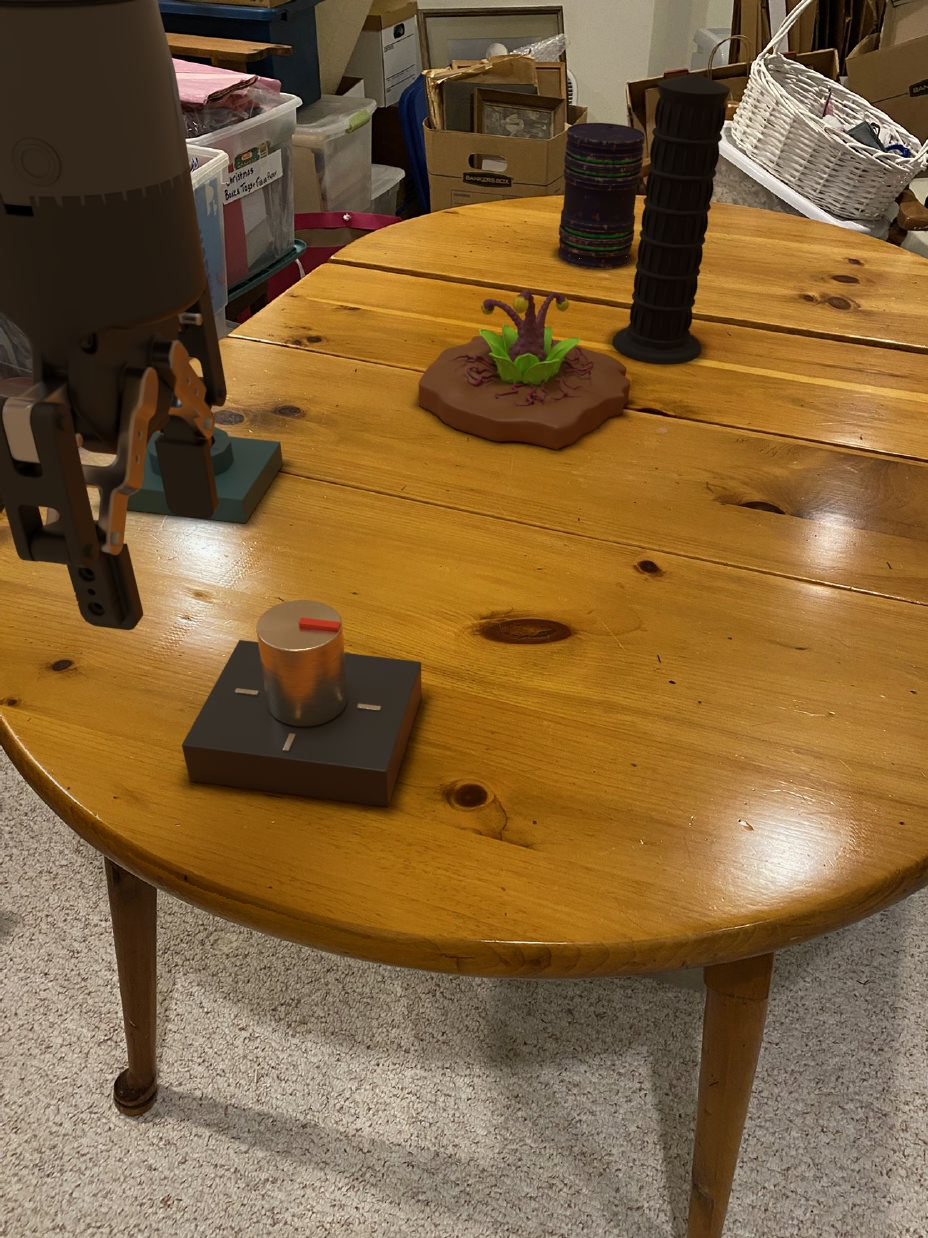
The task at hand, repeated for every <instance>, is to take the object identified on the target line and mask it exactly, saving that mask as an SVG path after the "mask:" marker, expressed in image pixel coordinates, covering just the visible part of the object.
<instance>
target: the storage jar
mask: <svg viewBox="0 0 928 1238" xmlns="http://www.w3.org/2000/svg"><path fill="white" fill-rule="evenodd" d="M566 138H567V141H565V142H566V144H565V151H564V157H563V158H564V159H563V163H564V168H563V179H564V195H563V208H562V209H561V211H560V223H559V225H558V226H559V227H558V236H559V238H558V243H559V248H558V251H557V255H558V258H559V259H560V260H561V261H562V262H564V263H565V264H569V265H570V266H574V267H578V268H582V269H590V270H614V269H618V268H622V267H625V266H627V265H628V264H629V263H630V262H631V257H632V254H631V250H632V247H633V242H634V239H635V224H636V223H635V222H636V215H635V208H636V200H637V192H638V185H640V180H641V178H642V176H641V175H642V172H641V170H642V169H643V161H644V157H643V155H644V144H645V141H646V140H645V139H646V134H645V132H643V130H641V129H639V128H636V127H633V126H629V125H624V124H617V123H608V122H583V123H576V124H573V125H570V126H568V127H567V130H566ZM629 253H630V254H629ZM626 256H627V257H626ZM579 258H580V259H579Z"/></svg>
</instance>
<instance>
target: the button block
mask: <svg viewBox="0 0 928 1238" xmlns="http://www.w3.org/2000/svg"><path fill="white" fill-rule="evenodd" d="M160 434H162V435H164V434H163V433H157V432H154V433H153V435H152V437H151V439H150V441H149V443H148V444H147V446H146V453H145V463H144V473H143V483H142V486H141V488H140V489H139V491H137V492H136V493H134V494H132V495H130V496H129V498H128V503H127V511H135V512H143V513H151V514H161V515H168V516H169V515H170V516H177V517H178V515H175V514H173V513H172V512H171V511H170V510H169V509H168V507H167V503H166V498H165V492H164V487H163V482H162V477H161V472H160V467H159V462H158V457H157V452H156V447H155V442H154V441H155V440H156V439H157V438H158V437H159V435H160ZM211 441H212V446H211V448H210V452H211V458H212V464H213V471H214V477H215V483H216V489H217V496H218V502H219V506H218V508H217V510H216V511H215V513H214V514H213V515H212V517H210V518H208V519H207V520H213V521H221V522H230V523H239V524H246V523H247V522H248V521H249V519H250V517H251V516H252V515H253V512H254V511H255V509H256V508H257V506H258V504H259V503H260V501H261V500H262V498H263V497H264V496H265V494H266V492H267V490H268V489H269V487H270V486H271V484H272V483H273V481H274V479H275V478H276V476H277V475H278V473H279V472H280V470H281V469H282V466H283V464H284V462H283V454H282V443H281V441H275V440H265V439H256V438H247V437H241V436H239V437H237V436H229V434H228V432H227V431H225V430H224V429H222V428H218V427H217V426H215V427H214V431H213V434H212V436H211ZM97 490H98V495H99V498H100V497H101V493H100V490H99V489H97ZM185 517H186V516H184V518H185ZM193 518H195V517H193ZM202 519H204V518H202ZM204 520H205V519H204Z"/></svg>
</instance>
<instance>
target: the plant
mask: <svg viewBox="0 0 928 1238" xmlns="http://www.w3.org/2000/svg"><path fill="white" fill-rule="evenodd" d="M554 299H555V306H556V308H557V310H558V311H561V312H565V311H567V310H568V309H569V307H570V303H569V299H568V298H567V297H566V296H565V295H563V294H562V293H558V292H555V291H554V292H551V293H550V294H548V296H547V297H545V300H544V299H543V301H542V302H543V303H542V304H541V305H540V308H539V309H538V312H537V314H536V303H535V302H534V300H535V297H534V295H533V294H532V292H531V290H530V289H527V290H524V291H521V292H520V293H519V294H516V296H515V298H514V299H513V302H512V307H511V306H510V305H508V304H507V303H505V302H502V301H501V300H497V299H492V298H487V299H484V300H483V301H481V304H480V310H481V312H482V313H483V315H487V316H489V315H492V314H493V313H494V311H495V307H497V308H499V309H501V310H503V312H504V313H506V314H507V316H508V317H509V318H510V319H511V321H512V322H513V323H514V326H515V327H516V329H517V330H515V329H514V328H512V327H511V326H510V325H508V324H503V325H502V326H501V332H502V334H497V333H496V332H494V331H492V330H488V329H482V328H479V330H478V334H479V335H477V336H473V337H472V338H471V340H470V341H469V342H467V343H464V344H461V345H457V346H453V347H448V348H445V349H444V350H442V351H441V352H440V354H439V356H438V357H437V358H436V359H435V360H434V361H433V362H432V363H431V364H430V365H428V367H427V368H426V369H425V370H424V372H423V374H422V375H421V377H420V380H419V381H418V405H419V406H420V407H422V408H424V409H425V410H427V411H429V412H431V413H433V414H434V415H436V416H437V417H439V419H440V420H441V421H442V422H443V423H445V424H446V425H448V426H450V427H452V428H454V429H457V430H459V431H461V432H465V433H469V434H472V435H474V436H475V435H476V436H478V437H480V438H484V439H487V440H490V441H494V442H524V443H529V444H534V445H538V446H541V447H545V448H549V449H552V450H559V449H561V448H563V447H565V446H569V445H572V444H574V443H575V442H576V441H577V440H578V439H579V438H580V437H582V436H583V435H585V434H588V433H590V432H593V431H594V430H596V429H597V428H598V427H599V426H600V425H602V423H603V422H605V420H607V419H608V418H610V417H613V416H617V415H619V416H620V415H621V414H623V411H624V406H625V405H626V404H627V403H628V401H629V397H630V396H629V395H630V388H631V380H630V379H629V378H627V377H626V375H627V367H626V365H624V364H623V363H622V362H620V361H619V360H618V359H616V358H614V357H612V356H610V355H607V354H606V353H602V352H599V351H594V350H590V349H587V348H585V347H582V346H579V343H581V337H570V338H566V339H563V340H560V339H554V337H553V333H554V332H553V328H552V327H551V326H550V325H548V326H545V324H546V318H547V313H548V310H549V307H550V304H551V303H552V301H554ZM520 314H524V319H522V317H520Z"/></svg>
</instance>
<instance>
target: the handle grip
mask: <svg viewBox="0 0 928 1238" xmlns="http://www.w3.org/2000/svg"><path fill="white" fill-rule="evenodd" d="M657 87H658V94H659V98H658V100H657V102H656V105H655V110H654V125H655V127H654V128H653V129H652V131H651V133H652V135H653V138H652V141H651V143H650V151H649V159H650V163H649V164H648V166H647V170H648V175H647V177H646V181H645V182H646V183H645V197H644V199H643V205H644V208H643V210H642V215H641V223H640V224H641V230H640V231H639V234H638V235H639V238H640V240H639V243H638V248H637V256H636V257H637V261H636V263H635V269H636V272H635V274H634V278H633V291H632V294H631V299H632V300H633V301H632V304H631V306H630V311H629V322H630V323H629V324H628V325H627V327H624V328H622V329H620V330H619V331H616V333H615V334H614V336H613V338H611V343H612V344H611V345H612V346H613V348H614V349H615V350H616V351H617V352H619V353H620V354H621V355H623V356H625V357H627V358H630V359H633V360H636V361H640V362H644V363H645V362H646V363H652V364H661V365H670V364H671V365H672V364H673V365H674V364H682V363H686V362H690V361H693V360H694V359H697V358H698V357H699V356H700V355H701V354H702V350H703V349H702V345H701V342H700V341H699V339H697V337H695V336H694V335H693V334H691V330H690V328H691V326H692V323H693V307H694V306H695V305H696V299H695V297H696V295H697V291H698V286H699V283H698V279H699V278H698V277H699V276H700V273H701V270H700V266H701V264H702V263H703V262H702V261H703V256H704V253H703V249H704V248H703V245H704V244H705V243H706V237H705V235H706V233H707V230H708V225H709V211H711V209H712V206H711V203H710V202H711V200H712V198H713V194H714V187H715V186H714V178H715V177H716V175H717V170H716V168H717V165H718V163H719V158H720V142H721V141H722V140H723V135H722V130H723V128H724V127H725V123H726V116H727V113H726V112H727V111H726V105H725V104H726V101H727V99H728V96H729V94H730V92H731V87H729V86H728V85H727V84H724V83H721V82H718V81H716V80H713V79H711V78H708V77H706V76H703V75H702V74H698V73H692V74H686V75H682V76H677V77H671V78H667V79H662V80H659V81H658V82H657Z"/></svg>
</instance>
